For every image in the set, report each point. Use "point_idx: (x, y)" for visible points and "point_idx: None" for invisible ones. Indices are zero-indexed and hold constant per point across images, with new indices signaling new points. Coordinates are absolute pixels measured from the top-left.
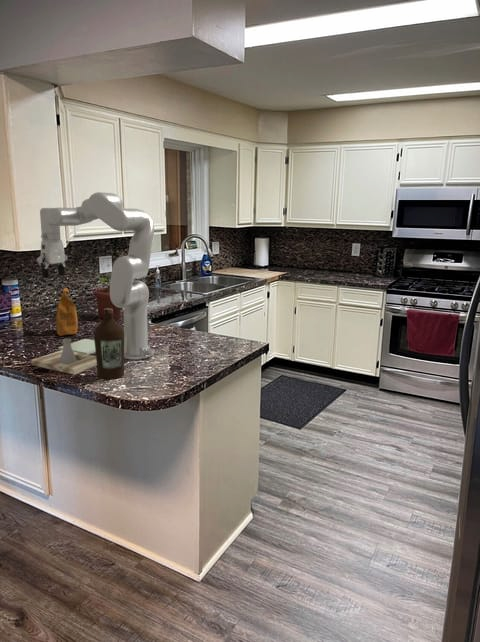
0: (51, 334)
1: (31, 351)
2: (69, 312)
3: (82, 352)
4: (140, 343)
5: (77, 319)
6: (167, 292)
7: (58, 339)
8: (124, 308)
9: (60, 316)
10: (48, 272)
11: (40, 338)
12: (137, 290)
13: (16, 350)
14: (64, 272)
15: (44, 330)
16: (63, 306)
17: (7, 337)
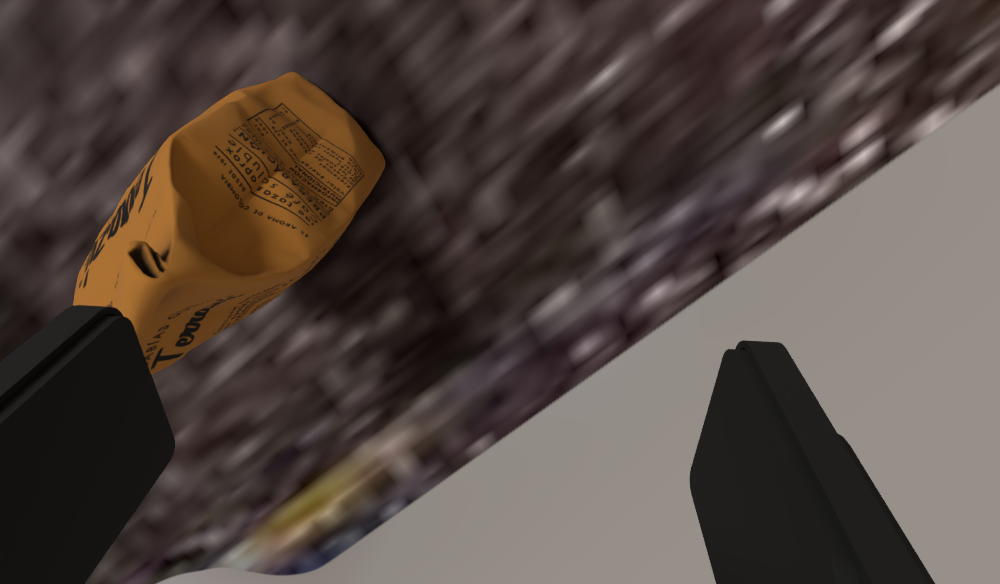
0: (375, 241)
1: (773, 72)
2: (258, 152)
3: None
4: None
5: (203, 113)
6: None
7: (448, 114)
8: None
9: (329, 208)
10: (819, 454)
11: (482, 237)
12: None
13: (771, 180)
14: (37, 350)
15: (330, 334)
16: (261, 231)
17: (544, 398)
